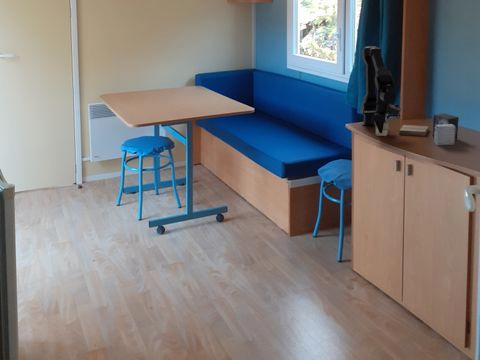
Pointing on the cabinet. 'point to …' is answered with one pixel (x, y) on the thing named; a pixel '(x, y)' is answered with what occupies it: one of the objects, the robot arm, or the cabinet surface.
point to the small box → (445, 121)
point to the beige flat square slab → (413, 130)
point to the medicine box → (444, 134)
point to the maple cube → (385, 130)
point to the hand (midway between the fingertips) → (381, 131)
